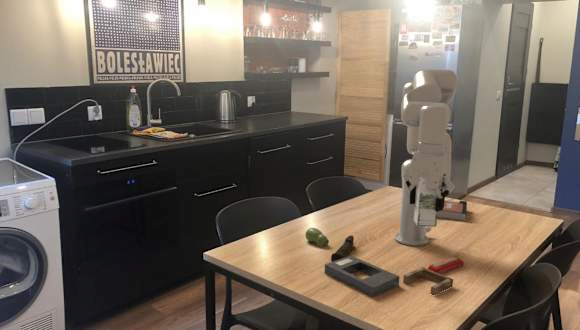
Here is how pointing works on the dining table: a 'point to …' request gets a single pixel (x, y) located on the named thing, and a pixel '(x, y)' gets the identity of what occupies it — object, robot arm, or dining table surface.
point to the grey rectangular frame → (370, 285)
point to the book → (453, 211)
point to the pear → (316, 237)
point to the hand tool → (343, 249)
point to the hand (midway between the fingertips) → (426, 206)
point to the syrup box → (425, 205)
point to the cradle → (423, 272)
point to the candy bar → (446, 265)
